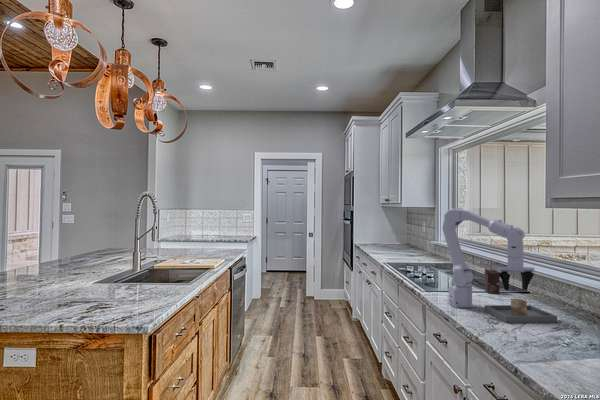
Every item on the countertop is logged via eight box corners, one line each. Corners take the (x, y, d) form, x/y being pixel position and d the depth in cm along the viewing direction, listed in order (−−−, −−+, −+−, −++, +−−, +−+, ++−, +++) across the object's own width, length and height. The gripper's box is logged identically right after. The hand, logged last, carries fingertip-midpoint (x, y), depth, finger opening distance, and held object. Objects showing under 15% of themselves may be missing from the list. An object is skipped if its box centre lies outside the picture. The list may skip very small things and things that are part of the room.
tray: (505, 323, 142) (505, 316, 142) (484, 311, 158) (484, 305, 158) (557, 322, 142) (557, 316, 142) (530, 310, 158) (530, 305, 158)
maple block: (516, 316, 148) (516, 301, 148) (511, 313, 152) (510, 298, 152) (526, 316, 148) (526, 301, 148) (520, 313, 152) (520, 298, 152)
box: (488, 293, 189) (488, 270, 189) (484, 291, 194) (484, 268, 194) (500, 293, 189) (500, 270, 189) (496, 291, 193) (496, 268, 194)
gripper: (503, 258, 149) (503, 292, 149) (539, 258, 149) (539, 292, 149) (494, 255, 156) (494, 288, 156) (528, 255, 156) (528, 288, 156)
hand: (515, 289), depth 153 cm, fingers open, 7 cm apart
